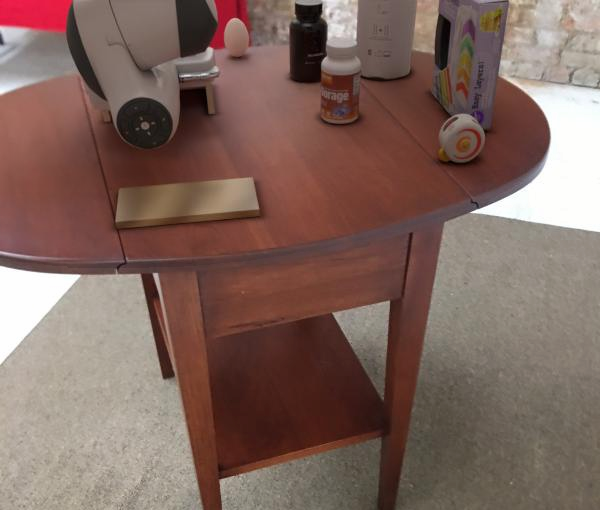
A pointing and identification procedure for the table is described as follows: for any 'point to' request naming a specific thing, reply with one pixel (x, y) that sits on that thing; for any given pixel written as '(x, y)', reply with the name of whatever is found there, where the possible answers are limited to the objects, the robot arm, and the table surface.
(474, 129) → the roller toy
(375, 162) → the table surface
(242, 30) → the egg
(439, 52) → the cake pan box
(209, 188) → the board
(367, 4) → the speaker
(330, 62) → the pill bottle
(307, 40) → the supplement bottle
